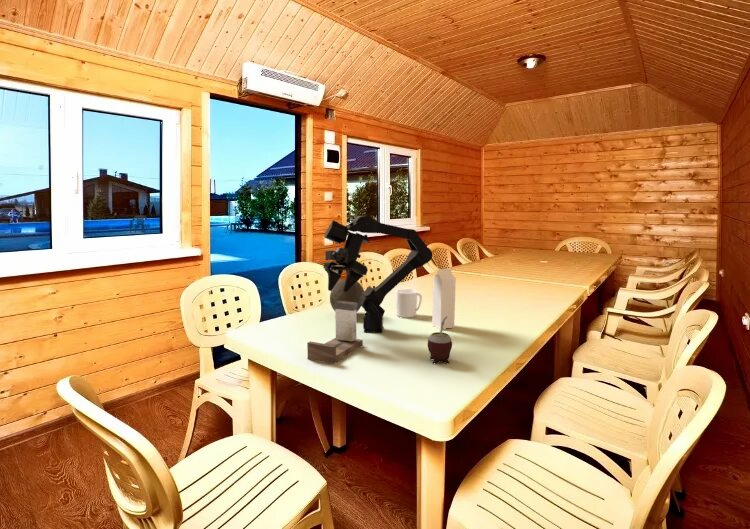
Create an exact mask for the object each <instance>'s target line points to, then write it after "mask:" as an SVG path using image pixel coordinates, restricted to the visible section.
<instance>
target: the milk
mask: <svg viewBox="0 0 750 529" xmlns="http://www.w3.org/2000/svg"><path fill="white" fill-rule="evenodd" d="M432 278H433V279H432V282H433V284H432V285H433V286H432V290H433V291H432V325H433V326H432V327H434V326H435V327H434V328H436V327H437V328H436V329H438V328H439V329H438V330H440V329H441V323H442V321H443V319H444V318H445V317H446V316H447V318H446V320H445V321H444V325H443V329H444V330H447V329H446V328H452V327H454V328H455V319H456V318H455V316H456V315H455V314H456V313H455V312H456V281H457V280H456V276H455V275H454V274H453V272H452V268H439V269H437V273H436V274H435V275H434V276H433V277H432ZM452 329H453V328H452Z"/></svg>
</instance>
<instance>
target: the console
mask: <svg viewBox="0 0 750 529" xmlns="http://www.w3.org/2000/svg"><path fill="white" fill-rule="evenodd" d="M363 340H364V339H361V338H357V339H356V340H354V341H352V342H351V341H345V340H339V339H336V337H335V338H333V339H331V340H329V341H327V342H325V343H322V342H316V341H312V340H311V341H309V342H307V359H308V360H311V361H315V362H316V361H318V362H321V363H327V364H331V365H335V364H336V363H337V362H339V361H340V359H341V360H343V359H344V358H345V357H347V356H348V354H349V355H350V354H352V353H353V351H354V352H355V351H357V350H358V349H360V348H361V346H362V347H363V346H364V342H363ZM356 349H357V350H356ZM343 357H344V358H343ZM338 360H339V361H338ZM335 362H336V363H335Z"/></svg>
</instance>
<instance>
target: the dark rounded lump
mask: <svg viewBox="0 0 750 529" xmlns="http://www.w3.org/2000/svg"><path fill="white" fill-rule="evenodd" d="M345 281H346V278H345V279H344V278H343V279H339V280H338V282H337V283H336V285H335V286H334V288H333V289H332V290H331V291H330V293H329V303H330V306H331V308H332V309H333V311H334V312H335V309H334V302H337V301H346V302H355V303H358V309H357V310H356V313H357V312H359V310H360V309H361V307H362V306H361V305H360V303H359V298H360V296H361V295H362V294H361V293H362V292H364V291H365V289H364V287H363V286H362V285H361V283H360V282H359V281H357V282H356V283H355V284H354V285H353V286H352V287H351V288H350V289H349V290H348V291H347V292H344V291H343V289H344V285H345Z"/></svg>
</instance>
